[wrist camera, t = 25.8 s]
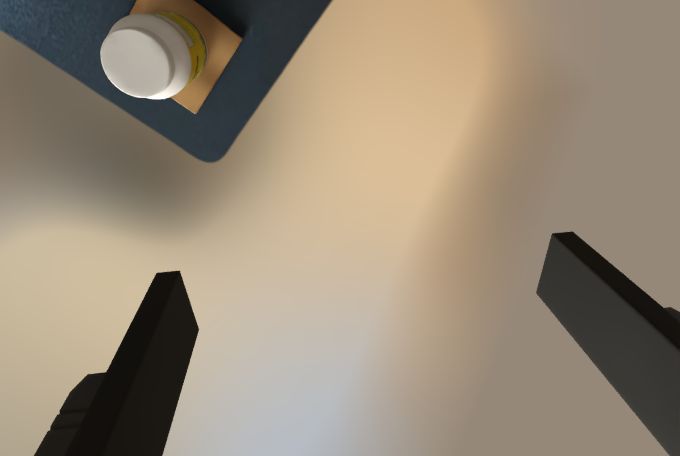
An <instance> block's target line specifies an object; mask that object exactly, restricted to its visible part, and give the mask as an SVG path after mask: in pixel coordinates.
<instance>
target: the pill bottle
mask: <svg viewBox="0 0 680 456" xmlns="http://www.w3.org/2000/svg"><path fill="white" fill-rule="evenodd" d="M207 57H208V51H207V45H206V42H205V39H204V37H203V35H202V33H201V32H200V30H199V29H198V28H197V26H196V25H195V24H194V23H193V22H192V21H190V20H189V19H188V18H186V17H184V16H182V15H180V14H177V13H173V12H151V13H138V14H132V15H129V16H126V17H124V18H122V19H120V20H119V21H118V22H116V23H115V24H114V26H113V27H112V28H111V30H110V32H109V34H108V36H107V37H106V38H105V40H104V42H103V44H102V47H101V63H102V66H103V69H104V71H105V73H106V75H107V77H108V78H109V79H110V81H111V82H112V83H113V84H114V85H115V86H116V87H117V88H118V89H120V90H121V91H123V92H124V93H126V94H129V95H131V96H134V97H140V98H150V99H165V98H169V97H171V96H174V95H176V94H177V93H179V92H180V91H182V90H183V89H184V88H185V87H186V86H187V85H189V84H190V83H191V82H192V81H194V80H195V79H196V78H197V77H199V75H200V74H201V73H202V72H203V70H204V68H205V66H206V63H207Z"/></svg>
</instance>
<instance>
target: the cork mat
mask: <svg viewBox="0 0 680 456" xmlns="http://www.w3.org/2000/svg"><path fill="white" fill-rule="evenodd" d="M151 12H173V13H177V14H180V15H182V16H184V17H186V18H188V19H189V20H190V21H192V22H193V23H194V24H195V25H196V26H197V28H198V29H199V30H200V32H201V33H202V35H203V37H204V39H205V42H206V45H207V51H208V57H207V63H206V66H205V68H204V70H203V72H202V73H201V74H200V75H199V77H197V78H196V79H195V80H194V81H192V82H191V83H190V84H189V85H187V86H186V87H185V88H184V89H183V90H182V91H180V92H179V93H177V94H176V95H174V96H171V98H172V99H174V100H175V101H177V102H178V103H180V104H181V105H183V106H184V107H186V108H187V109H189V110H190V111H192V112H193V113H195V114H196V113H197V112H198V110H199V109H200V107H201V105H202V104H203V102H204V101H205V99H206V97H207V96H208V94H209V93H210V91H211V89H212V88H213V86H214V85H215V83H216V81H217V80H218V78H219V77H220V75H221V73H222V72H223V70H224V69H225V67H226V65H227V64H228V62H229V61H230V59H231V57H232V56H233V54H234V53H235V51H236V49H237V48H238V46H239V45H240V43H241V41H242V40H243V38H241V37H240V36H239V35H238V34H236V33H235V32H234V31H233V30H231V29H230V28H229V27H228V26H226V25H225V24H224V23H223V22H221V21H220V20H219V19H218V18H216V17H215V16H214V15H213V14H211V13H210V12H209V11H208V10H206V9H205V8H204V7H203V6H201V5H200V4H199V3H197V2H196V1H195V0H136V2H135V4H134V6H133V8H132V10H131V12H130V14H129V15H132V14H138V13H151Z"/></svg>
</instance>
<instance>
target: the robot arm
mask: <svg viewBox="0 0 680 456" xmlns="http://www.w3.org/2000/svg"><path fill="white" fill-rule="evenodd" d="M536 293H537V295H538V296H539V297H540V298H541V299H542V301H543V302H544V303H545V304H546V306H548V308H549V309H550V310H551V312H552V313H553V314H554V315H555V317H556V318H557V319H558V320H559V321H560V323H561V324H562V325H563V326H564V327H565V329H566V330H567V331H568V332H569V334H570V335H571V336H572V337H573V338H574V340H575V341H576V342H577V343H578V344H579V346H580V347H581V348H582V349H583V351H584V352H585V353H586V354H587V355H588V356H589V358H590V359H591V360H592V362H593V363H594V364H595V365H596V366H597V368H598V369H599V370H600V371H601V373H602V374H603V375H604V376H605V377H606V379H607V380H608V381H609V382H610V384H611V385H612V386H613V387H614V388H615V390H616V391H617V392H618V393H619V394H620V396H621V397H622V398H623V399H624V401H625V402H626V403H627V404H628V405H629V407H630V408H631V409H632V410H633V412H634V413H635V414H636V415H637V416H638V418H639V419H640V420H641V421H642V423H643V424H644V425H645V426H646V427H647V428H648V430H649V431H650V432H651V433H652V435H653V436H654V437H655V438H656V439H657V441H658V442H659V443H660V444H661V446H662V447H663V448H664V449H665V450H666V452H667V453H668V454H669V455H670V456H680V312H679V311H677V310H675V309H673V308H671V307H668V308H663V307H662V306H661V305H660V304H658V303H657V302H656V301H655V300H653V299H652V298H651V297H650V296H649V295H648V294H646V293H645V292H644V291H643V290H642V289H640V288H639V287H638V286H637V285H636V284H634V283H633V282H632V281H631V280H629V278H627V277H626V276H625V275H624V274H623V273H621V272H620V271H619V270H618V269H617V268H615V267H614V266H613V265H612V264H610V263H609V262H608V261H607V260H606V259H604V258H603V257H602V256H601V255H600V254H599V253H598V252H596V251H595V250H594V249H593V248H591V247H590V246H589V245H588V244H586V242H584V241H583V240H582V239H581V238H580V237H578V236H577V235H576V234H575V233H574V232H564V233H553V234H552V236H551V239H550V243H549V247H548V251H547V254H546V258H545V262H544V266H543V269H542V273H541V277H540V280H539V284H538V288H537V292H536ZM198 331H199V329H198V325H197V322H196V319H195V316H194V313H193V310H192V307H191V304H190V301H189V298H188V295H187V292H186V289H185V286H184V283H183V279H182V276H181V273H180V271H172V272H162V273H156V275H155V277H154V279H153V281H152V283H151V285H150V287H149V289H148V291H147V293H146V295H145V297H144V299H143V301H142V303H141V305H140V307H139V309H138V311H137V313H136V315H135V317H134V319H133V321H132V322H131V324H130V326H129V329H128V330H127V332H126V334H125V336H124V338H123V340H122V342H121V344H120V346H119V348H118V350H117V352H116V354H115V356H114V358H113V360H112V362H111V364H110V366H109V368H108V370H107V372H105V373H96V374H88V375H87V376H86V377H85V378H84V379H83V380H82V381H81V382H80V383H79V384H78V385H77V386H76V387H75V388H74V389H73V390H72V391H71V392H70V393H69V395H68V397H67V399H66V400H65V402H64V404H63V406H62V408H61V409H60V414H59V415H57V416H56V418H55V420H54V421H53V423H52V425H51V429H50V431H48V432H47V434H46V435H45V437H44V439H43V441H42V442H41V444H40V446H39V448H38V450H37V451H36V453H35V455H34V456H162V455H163V451H164V448H165V444H166V441H167V437H168V434H169V431H170V427H171V424H172V421H173V417H174V413H175V410H176V407H177V403H178V400H179V396H180V393H181V390H182V386H183V383H184V379H185V376H186V372H187V369H188V366H189V362H190V358H191V355H192V351H193V348H194V345H195V341H196V338H197V334H198Z"/></svg>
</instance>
